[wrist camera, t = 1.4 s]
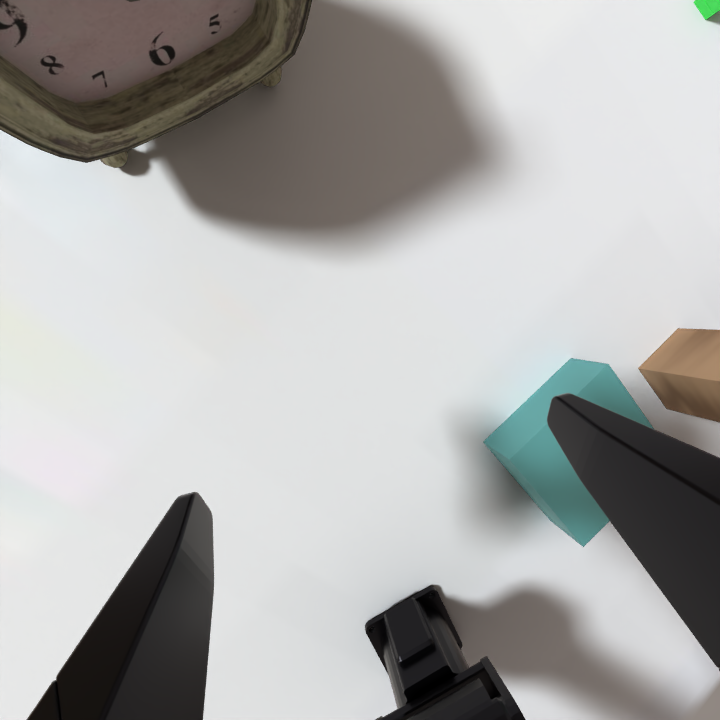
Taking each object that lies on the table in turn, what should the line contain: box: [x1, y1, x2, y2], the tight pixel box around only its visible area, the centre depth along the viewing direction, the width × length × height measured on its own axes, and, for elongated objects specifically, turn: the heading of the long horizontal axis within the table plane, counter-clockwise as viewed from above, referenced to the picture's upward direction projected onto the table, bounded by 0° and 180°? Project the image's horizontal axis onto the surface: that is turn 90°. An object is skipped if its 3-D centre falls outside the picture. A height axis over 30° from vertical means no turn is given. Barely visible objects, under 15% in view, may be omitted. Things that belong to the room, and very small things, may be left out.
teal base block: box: [484, 358, 654, 547], centre depth 29 cm, size 10×10×4 cm
